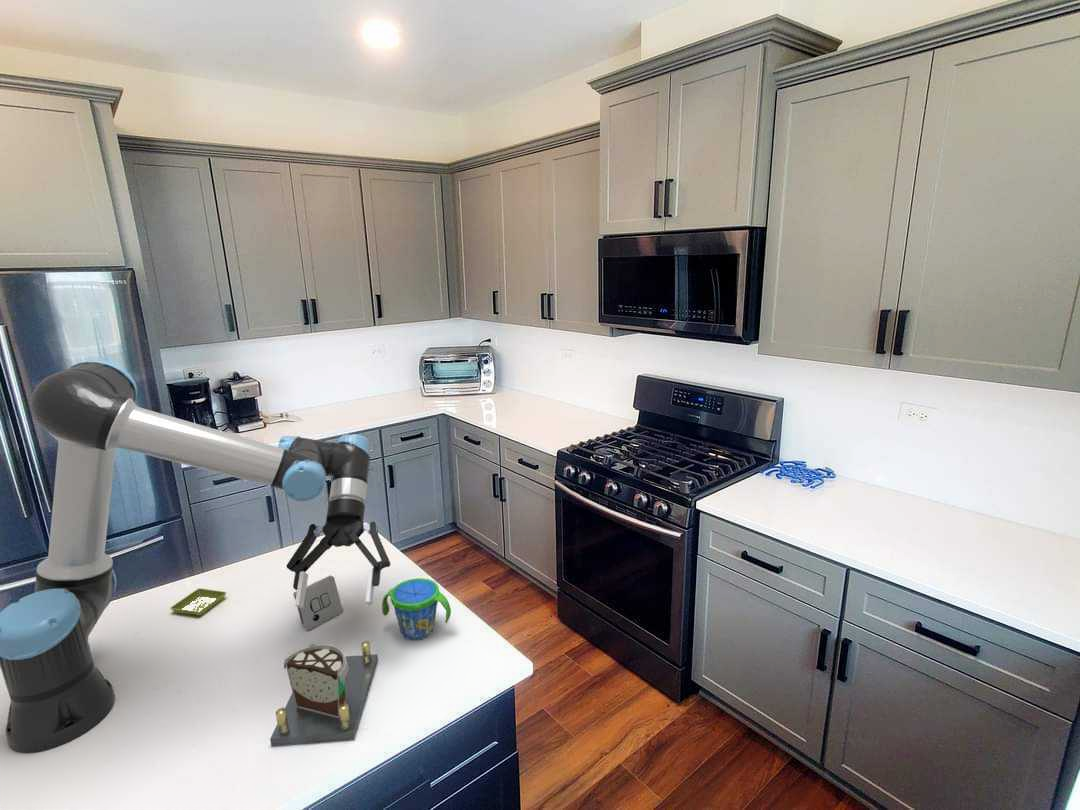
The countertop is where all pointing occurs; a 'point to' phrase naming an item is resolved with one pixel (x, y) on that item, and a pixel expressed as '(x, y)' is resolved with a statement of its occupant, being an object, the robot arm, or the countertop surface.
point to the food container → (318, 678)
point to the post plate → (324, 728)
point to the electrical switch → (320, 603)
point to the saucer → (193, 596)
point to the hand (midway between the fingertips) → (334, 605)
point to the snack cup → (416, 606)
